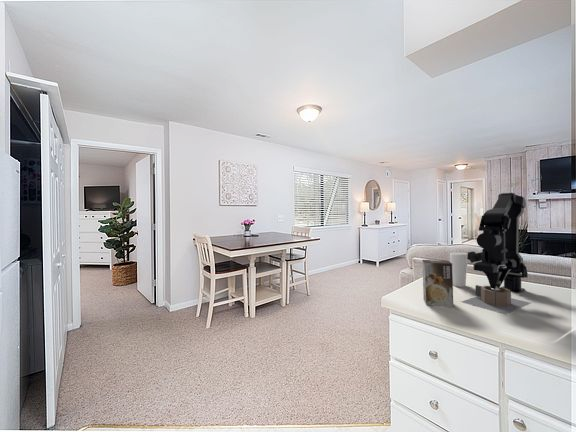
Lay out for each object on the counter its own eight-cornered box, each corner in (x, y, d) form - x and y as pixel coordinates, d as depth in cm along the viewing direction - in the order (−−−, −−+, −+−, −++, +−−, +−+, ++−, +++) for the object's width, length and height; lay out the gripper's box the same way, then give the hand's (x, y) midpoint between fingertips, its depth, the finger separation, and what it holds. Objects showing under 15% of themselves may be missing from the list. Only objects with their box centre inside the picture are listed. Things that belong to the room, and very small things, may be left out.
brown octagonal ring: (481, 295, 105) (481, 283, 105) (514, 303, 95) (514, 290, 95) (470, 299, 101) (470, 286, 101) (503, 307, 91) (503, 293, 91)
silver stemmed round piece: (491, 298, 100) (490, 277, 100) (507, 302, 96) (507, 280, 96) (484, 300, 98) (483, 279, 98) (500, 305, 93) (500, 282, 93)
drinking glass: (470, 288, 115) (470, 254, 115) (453, 287, 116) (453, 254, 116) (463, 284, 122) (463, 252, 121) (447, 283, 123) (447, 252, 123)
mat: (487, 293, 108) (487, 292, 108) (531, 303, 96) (531, 302, 96) (460, 302, 98) (460, 301, 98) (505, 315, 86) (505, 314, 86)
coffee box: (449, 301, 100) (449, 260, 99) (453, 307, 94) (453, 263, 93) (422, 299, 103) (422, 259, 102) (425, 305, 97) (424, 262, 96)
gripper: (483, 241, 108) (483, 279, 108) (458, 245, 99) (458, 286, 100) (517, 244, 98) (517, 285, 99) (492, 249, 89) (492, 294, 90)
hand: (495, 287), depth 97 cm, fingers closed on silver stemmed round piece, 3 cm apart
